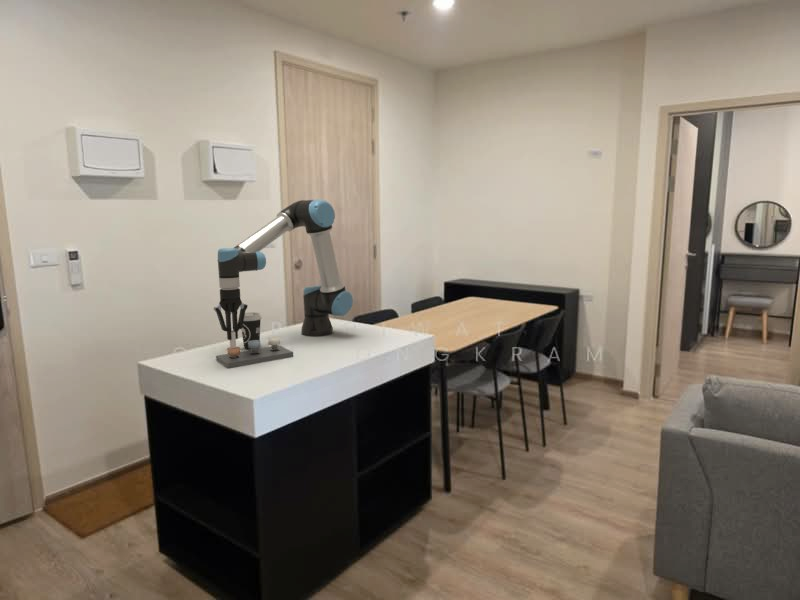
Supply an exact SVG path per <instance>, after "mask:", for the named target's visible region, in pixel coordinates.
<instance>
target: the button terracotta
mask: <svg viewBox="0 0 800 600" xmlns="http://www.w3.org/2000/svg"><path fill="white" fill-rule="evenodd" d="M226 351H227V354H228V355H230V356H231V359H234V358H237V355H239V354H240V352H241V347H240V346H236V348H231V347H230V346H229V347H227V349H226Z"/></svg>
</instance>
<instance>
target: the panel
mask: <svg viewBox="0 0 800 600" xmlns="http://www.w3.org/2000/svg"><path fill="white" fill-rule="evenodd" d="M277 347H278V348H277V349H272V347H271V346H267V347H260V348H258V352H252V350H248V349H247V350H244V351H243V350H240V354H239V355H237V358H234V359H231V356H230V355H228V353H223V354H217V355H215V361H216V362H218V363H219V364H221V365H223V366H224V368H226V369H231V368H238V367H244V366H249V365H255V364H261V363H265V362H272V361H276V360H282V359H287V358H294V351H293V350H290V349H287V348H286V347H283V346H281V345H280V344H279V345H277Z"/></svg>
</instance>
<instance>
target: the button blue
mask: <svg viewBox="0 0 800 600" xmlns="http://www.w3.org/2000/svg"><path fill="white" fill-rule="evenodd" d="M261 344H262V343H261V339H260V340H250V341H248V348H251V349H252V352H258V349H260V348H262V345H261Z"/></svg>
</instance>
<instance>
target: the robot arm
mask: <svg viewBox="0 0 800 600" xmlns="http://www.w3.org/2000/svg"><path fill="white" fill-rule="evenodd" d="M335 218H336V214H335V210H334V207H333V206H332V205H331V204H330V202H328V201H327V200H323V199H307V200H304V199H302V200H297V201H295V202H293V203H292V204H290V205H288V206H286V207H285V208H284V209H282V210H281V211H279V212H277V214H276V217H275V218H273V219H272V220H270V221H269V222H268V223H267V224H265V225H264V226H261V227H260V228H259V229H258V230H256V231H255V232H254V233H252V234H251V235H249V236H248V237H247V238H246V239H243V240H242V241H241V242H240V243H238V244H237V245H235V246H233V247H227V248H226V247H225V248H219V249H218V250H217V267H218V268H217V269H218V283H219V284H218V285H219V286H218V287H219V288H220V289H219V299H220V300H219V303H218V305H217V306H214V307H213V310H214V311H215V313H216V316H217V318H218V321H219V326H220V328H221V331H224V332H226V338H227V340H228V341H229V345H230V346H229V347H231V348H236V347H237V340H238V339H239V333H238V332H239V331H240V330H241V329H242V327H243V321H244V316H245V313H246V310H247V309H248V304H245V303H243V301H242V300H241V289H240V286H241V285H240V283H241V282H240V273H243V272H257V271H261V270H263V269H265V267H266V266H267V265H266V264H267V258H266V255H265V254H264V252H262V251H263V249H265V248H267V247H268V246H269V245H270V244H272V243H273V242H274V241H276V240H277V239H278V238H279V237H281V236H283V235H284V234H285V233H286V232H292V231H293V230H295V229H298V228H300V227H305V232H306V234H307V235H308V236H310V238H311V239H310V240H311V242H312V246H313V251H314V255H315V259H316V263H317V267H318V268H317V269H318V273H319V277H320V282H321V284H320V285H314V286H307V287H305V288H304V289H303V298H302V299H303V311H304V312H303V313H304V317H303V322H302V325H301V331H300V332H301V335H303V336H306V337H323V336H328V335H331V334H333V333H334V330H333V329H334V327H333V326H332V322H331V319H330V317H329V316H330V315H332V316H335V317H336V316H337V317H338V316H340V317H341V316H346V315H347V314H348V313H349V312H350V311H351V309H352V306H353V302H354V298H353V295H352V293H350V292H349V291H347V290H346V285H345V284H344V282H341V277H340V274H339V268H338V264H337V263H338V262H337V259H336V255H335V250H334V246H333V241H332V236H331V230H332V229H333V224H334V222H335ZM239 309H240V310H239ZM222 310H223V311H224V314H225V315H224V316H225V319H224V317H223V313H222ZM238 310H239V315H238Z"/></svg>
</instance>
